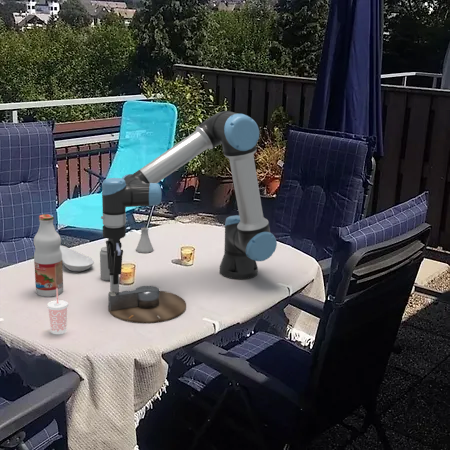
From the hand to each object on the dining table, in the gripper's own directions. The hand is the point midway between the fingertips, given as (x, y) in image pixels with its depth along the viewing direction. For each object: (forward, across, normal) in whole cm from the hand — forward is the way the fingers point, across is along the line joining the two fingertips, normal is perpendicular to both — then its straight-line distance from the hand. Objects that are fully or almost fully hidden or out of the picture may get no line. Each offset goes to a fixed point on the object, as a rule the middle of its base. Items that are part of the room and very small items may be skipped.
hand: (114, 291), depth 215 cm
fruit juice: (+5, -18, -19) cm, 26 cm away
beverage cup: (+5, +16, -22) cm, 27 cm away
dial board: (+4, +8, +9) cm, 13 cm away
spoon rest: (+5, -43, -7) cm, 44 cm away
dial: (+3, +7, +5) cm, 9 cm away
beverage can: (+4, -24, +4) cm, 24 cm away
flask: (+4, -52, +27) cm, 58 cm away
